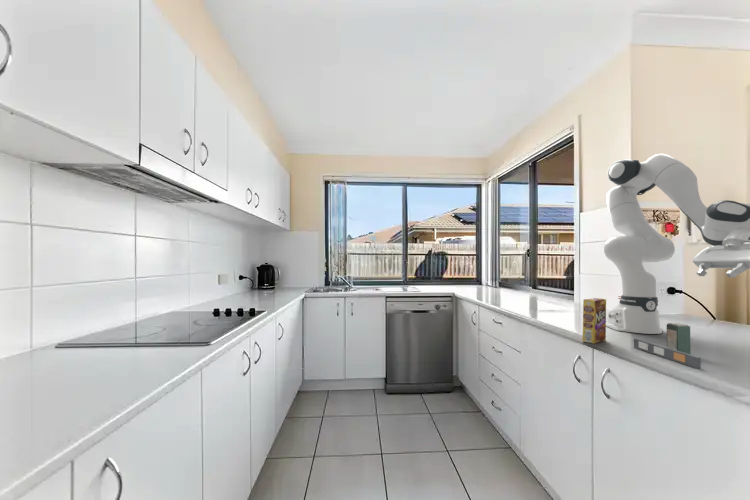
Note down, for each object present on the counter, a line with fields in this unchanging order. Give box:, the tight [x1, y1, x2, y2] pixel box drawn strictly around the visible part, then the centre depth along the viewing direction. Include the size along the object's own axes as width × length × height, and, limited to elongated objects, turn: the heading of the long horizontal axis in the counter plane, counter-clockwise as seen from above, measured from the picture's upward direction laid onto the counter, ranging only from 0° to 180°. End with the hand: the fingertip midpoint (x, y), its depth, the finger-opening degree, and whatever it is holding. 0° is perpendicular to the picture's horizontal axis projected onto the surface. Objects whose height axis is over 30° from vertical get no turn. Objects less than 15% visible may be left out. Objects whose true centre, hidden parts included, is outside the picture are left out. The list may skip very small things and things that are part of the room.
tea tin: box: [666, 322, 692, 355], centre depth 111 cm, size 4×4×9 cm
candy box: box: [582, 297, 607, 345], centre depth 127 cm, size 9×4×15 cm, turn 123°
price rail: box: [633, 337, 702, 369], centre depth 108 cm, size 22×1×3 cm, turn 3°
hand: (714, 275), depth 112 cm, fingers open, 8 cm apart
